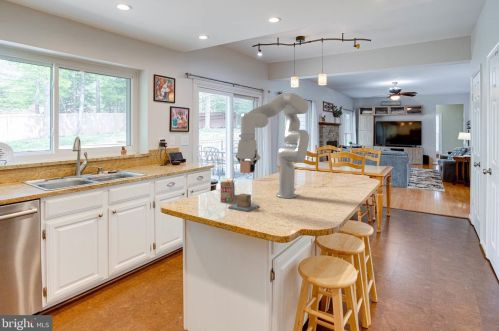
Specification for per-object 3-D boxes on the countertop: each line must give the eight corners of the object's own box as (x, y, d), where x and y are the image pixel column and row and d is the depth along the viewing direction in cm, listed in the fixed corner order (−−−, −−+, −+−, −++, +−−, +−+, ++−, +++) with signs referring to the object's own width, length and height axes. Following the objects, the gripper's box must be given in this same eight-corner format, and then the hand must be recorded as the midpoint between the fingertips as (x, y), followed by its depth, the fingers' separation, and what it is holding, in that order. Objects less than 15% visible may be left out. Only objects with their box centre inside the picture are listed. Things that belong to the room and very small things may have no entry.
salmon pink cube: (245, 171, 169) (245, 160, 169) (254, 172, 166) (254, 161, 166) (240, 172, 164) (240, 161, 164) (249, 173, 162) (249, 161, 161)
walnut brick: (242, 204, 171) (242, 193, 170) (250, 205, 168) (251, 194, 167) (236, 206, 166) (236, 195, 166) (245, 207, 164) (245, 196, 163)
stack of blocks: (225, 194, 201) (225, 175, 199) (234, 194, 200) (234, 175, 199) (220, 202, 179) (220, 181, 178) (231, 202, 179) (231, 181, 178)
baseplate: (240, 203, 176) (240, 202, 176) (259, 206, 169) (259, 205, 169) (228, 208, 165) (228, 206, 165) (247, 211, 159) (247, 209, 159)
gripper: (230, 136, 165) (230, 170, 167) (258, 137, 156) (257, 173, 158) (238, 136, 171) (237, 169, 173) (265, 137, 162) (264, 171, 164)
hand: (247, 170), depth 165 cm, fingers closed on salmon pink cube, 5 cm apart
